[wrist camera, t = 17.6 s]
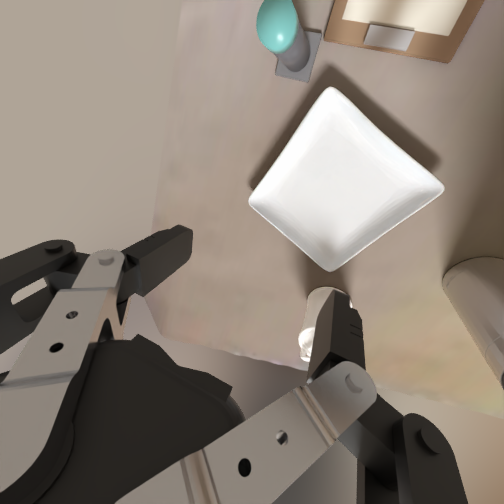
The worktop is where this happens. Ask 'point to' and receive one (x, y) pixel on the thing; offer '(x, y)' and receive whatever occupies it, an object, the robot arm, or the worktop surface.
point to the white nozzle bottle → (312, 319)
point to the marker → (283, 33)
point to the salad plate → (340, 183)
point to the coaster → (306, 71)
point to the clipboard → (403, 26)
